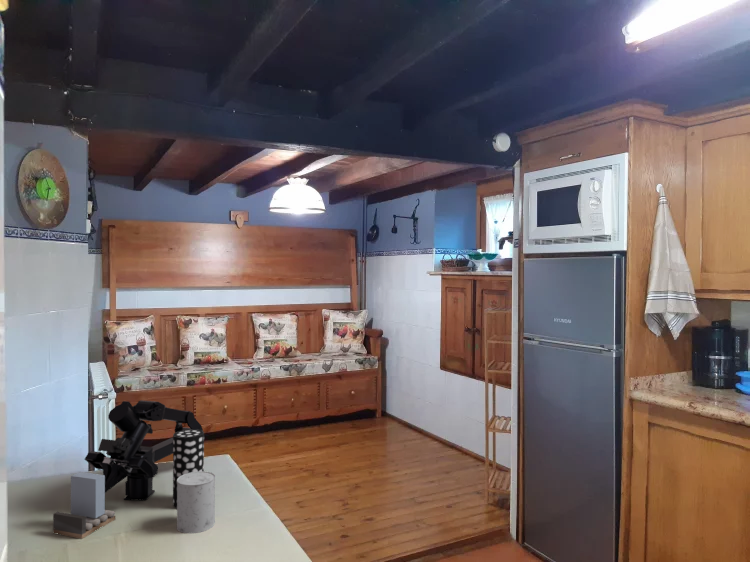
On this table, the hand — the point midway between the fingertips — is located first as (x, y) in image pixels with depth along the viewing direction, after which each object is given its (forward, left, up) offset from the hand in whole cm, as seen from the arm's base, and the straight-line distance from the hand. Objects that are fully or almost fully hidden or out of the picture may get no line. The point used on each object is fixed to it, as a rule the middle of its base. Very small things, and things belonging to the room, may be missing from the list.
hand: (102, 493), depth 145 cm
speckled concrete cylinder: (-27, +3, -7) cm, 28 cm away
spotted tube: (-20, -10, -7) cm, 23 cm away
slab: (+1, +5, -4) cm, 6 cm away
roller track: (+1, +5, -6) cm, 9 cm away
